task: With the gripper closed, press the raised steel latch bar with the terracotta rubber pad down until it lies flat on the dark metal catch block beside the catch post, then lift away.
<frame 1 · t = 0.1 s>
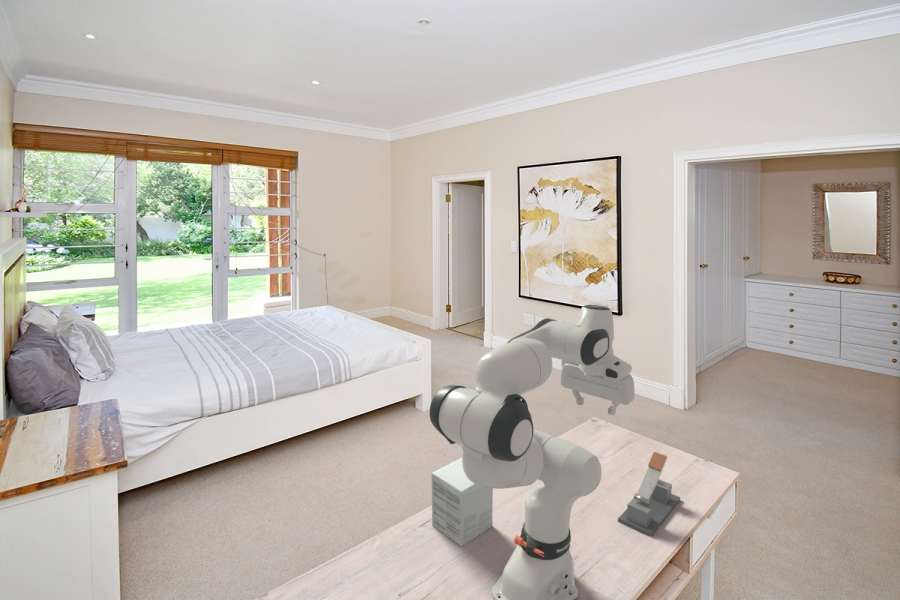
hand: (595, 408, 130), 39 cm above the table, tool pointing down, fingers open, 8 cm apart
supplement box: (462, 526, 141), on the table
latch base: (650, 510, 148), on the table
latch bar: (651, 477, 145), point 12 cm above the table, hinge at 35.0°
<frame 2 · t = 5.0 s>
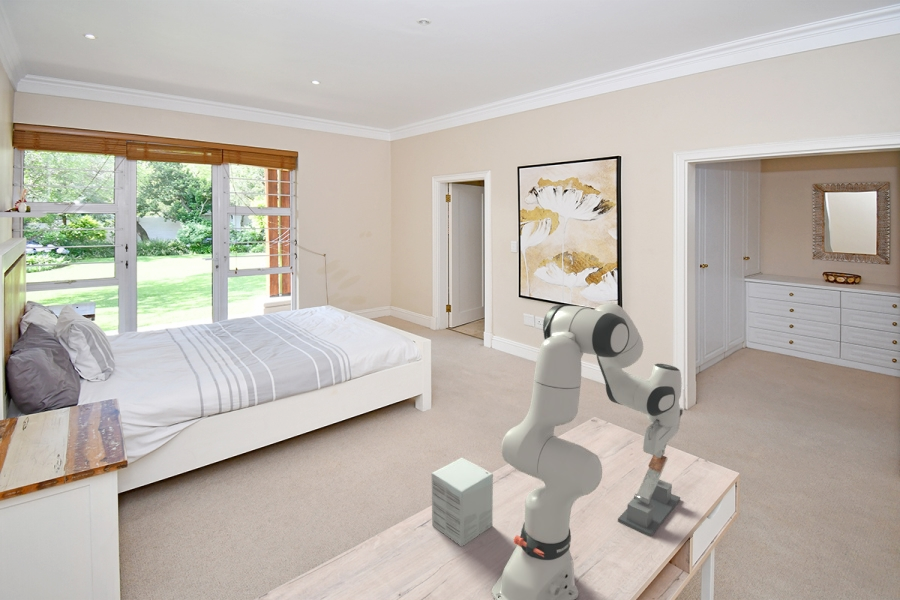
hand: (659, 455, 148), 17 cm above the table, tool pointing down, fingers closed
latch bar: (651, 477, 145), point 12 cm above the table, hinge at 32.7°, touching gripper
everything else where it was.
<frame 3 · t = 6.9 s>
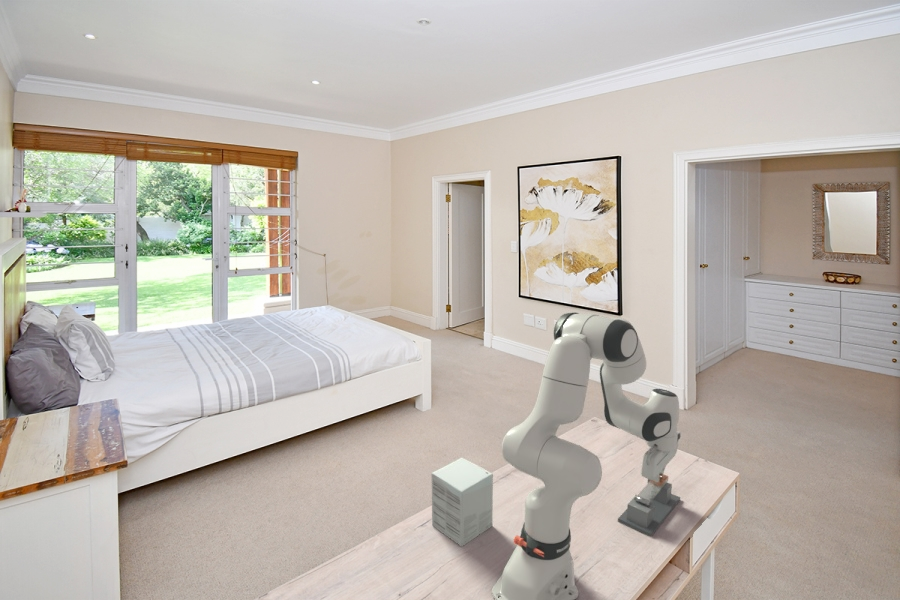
hand: (657, 479, 149), 9 cm above the table, tool pointing down, fingers closed on latch bar
latch bar: (652, 488, 147), point 8 cm above the table, hinge at 1.7°, touching gripper
everything else where it was.
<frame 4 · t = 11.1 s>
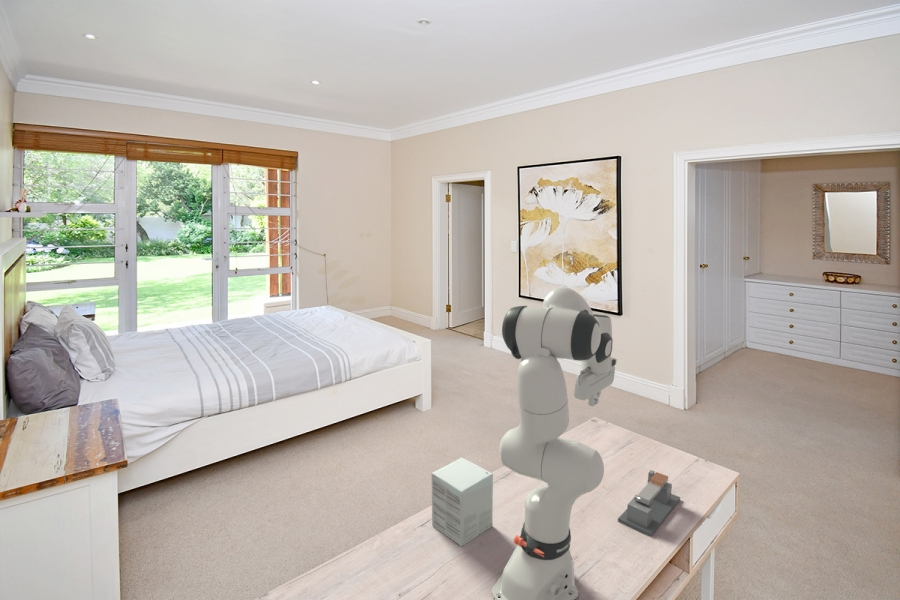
hand: (593, 404, 152), 31 cm above the table, tool pointing down, fingers closed
latch bar: (652, 488, 147), point 8 cm above the table, hinge at 1.5°
everything else where it was.
at the end: latch bar at +2° (first picture: +35°); the gripper is holding nothing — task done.
